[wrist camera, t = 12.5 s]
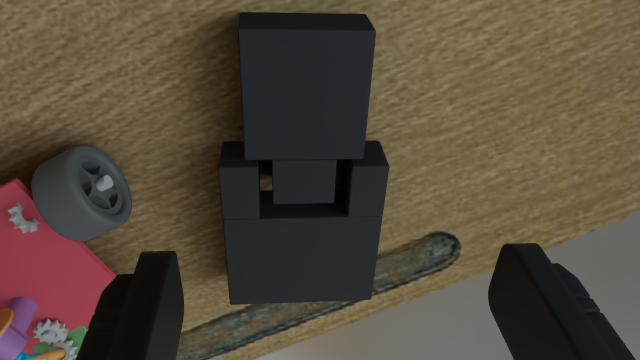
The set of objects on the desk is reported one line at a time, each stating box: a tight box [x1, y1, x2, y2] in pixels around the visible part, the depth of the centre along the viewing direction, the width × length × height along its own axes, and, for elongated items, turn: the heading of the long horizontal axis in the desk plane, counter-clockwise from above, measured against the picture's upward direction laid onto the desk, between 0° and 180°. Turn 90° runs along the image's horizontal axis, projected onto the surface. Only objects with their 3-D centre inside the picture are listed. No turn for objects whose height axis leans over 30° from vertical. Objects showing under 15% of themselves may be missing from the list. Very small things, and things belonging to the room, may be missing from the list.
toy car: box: [0, 145, 132, 360], centre depth 25 cm, size 15×12×7 cm
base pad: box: [218, 141, 389, 305], centre depth 26 cm, size 9×8×2 cm
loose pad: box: [238, 12, 376, 204], centre depth 23 cm, size 8×6×2 cm, turn 178°
